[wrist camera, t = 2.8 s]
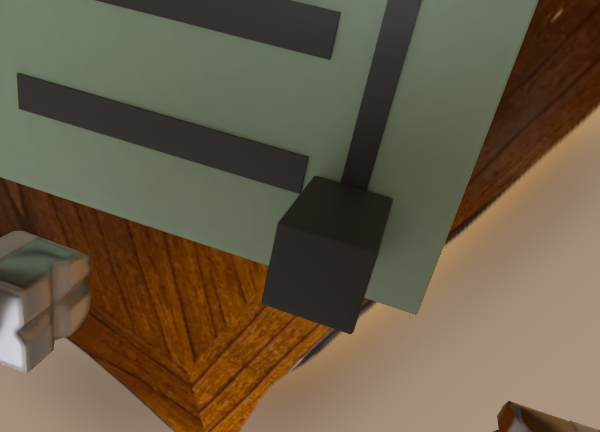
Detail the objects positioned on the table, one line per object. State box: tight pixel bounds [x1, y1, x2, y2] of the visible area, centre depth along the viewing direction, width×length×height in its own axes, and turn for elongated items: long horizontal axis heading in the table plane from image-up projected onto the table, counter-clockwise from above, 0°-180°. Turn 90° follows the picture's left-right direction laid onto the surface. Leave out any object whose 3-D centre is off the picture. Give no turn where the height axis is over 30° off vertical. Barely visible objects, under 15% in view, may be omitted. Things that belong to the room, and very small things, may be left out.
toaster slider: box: [262, 176, 393, 334], centre depth 13 cm, size 2×2×4 cm
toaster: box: [0, 0, 539, 314], centre depth 21 cm, size 16×11×15 cm
